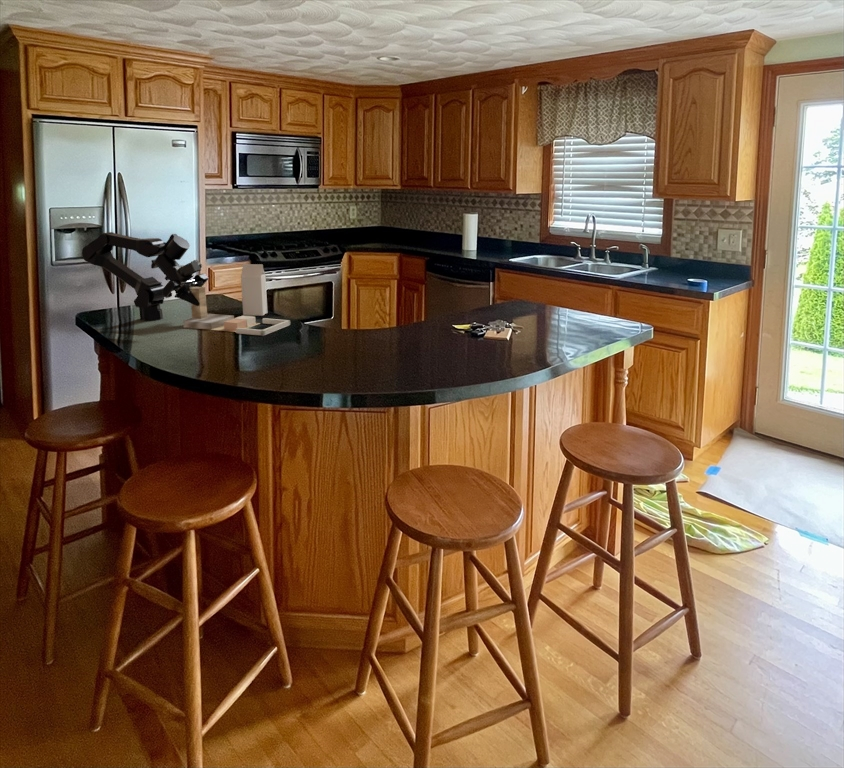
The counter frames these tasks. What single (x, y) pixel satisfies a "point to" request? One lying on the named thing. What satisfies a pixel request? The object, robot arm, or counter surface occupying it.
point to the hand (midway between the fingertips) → (202, 304)
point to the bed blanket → (204, 313)
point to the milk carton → (253, 289)
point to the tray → (268, 330)
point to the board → (225, 330)
